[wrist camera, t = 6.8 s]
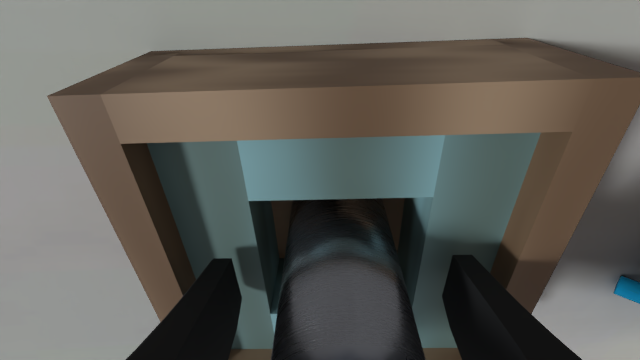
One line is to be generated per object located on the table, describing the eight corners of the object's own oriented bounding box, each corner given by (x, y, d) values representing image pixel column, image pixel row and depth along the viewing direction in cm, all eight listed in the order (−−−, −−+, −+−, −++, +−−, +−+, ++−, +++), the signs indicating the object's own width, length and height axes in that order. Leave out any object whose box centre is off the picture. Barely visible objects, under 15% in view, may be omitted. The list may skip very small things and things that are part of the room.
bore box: (224, 292, 18) (193, 387, 14) (151, 51, 11) (46, 95, 7) (454, 289, 18) (494, 386, 14) (526, 37, 11) (654, 76, 7)
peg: (296, 249, 15) (280, 427, 9) (285, 177, 13) (253, 349, 7) (382, 244, 15) (423, 423, 9) (385, 170, 13) (441, 341, 7)
